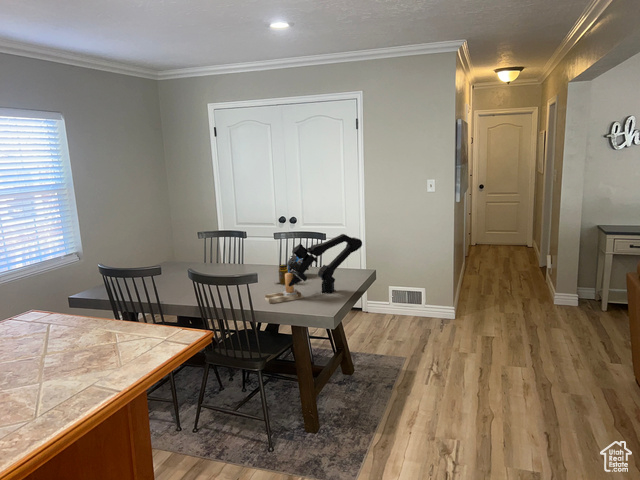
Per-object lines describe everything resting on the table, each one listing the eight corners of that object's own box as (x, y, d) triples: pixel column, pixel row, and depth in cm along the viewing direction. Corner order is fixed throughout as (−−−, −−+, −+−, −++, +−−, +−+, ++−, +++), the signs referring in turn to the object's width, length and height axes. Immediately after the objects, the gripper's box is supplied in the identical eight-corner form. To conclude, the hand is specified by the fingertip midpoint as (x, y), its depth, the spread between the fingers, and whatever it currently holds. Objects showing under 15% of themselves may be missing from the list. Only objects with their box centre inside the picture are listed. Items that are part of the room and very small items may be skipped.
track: (297, 294, 271) (297, 289, 270) (302, 298, 263) (302, 293, 262) (265, 299, 264) (264, 294, 264) (269, 303, 256) (268, 298, 255)
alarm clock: (296, 279, 304) (295, 256, 302) (287, 278, 307) (286, 256, 304) (304, 274, 316) (303, 252, 313) (296, 273, 318) (295, 252, 316)
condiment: (291, 283, 295) (290, 265, 293) (279, 286, 290) (278, 267, 288) (285, 281, 301) (284, 263, 299) (274, 283, 296) (273, 265, 294)
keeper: (293, 293, 268) (292, 272, 266) (296, 295, 263) (295, 274, 261) (283, 294, 266) (282, 273, 264) (286, 297, 261) (285, 275, 259)
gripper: (290, 252, 271) (272, 273, 269) (300, 258, 253) (282, 280, 252) (303, 263, 275) (286, 284, 273) (314, 270, 257) (296, 292, 256)
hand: (287, 285), depth 263 cm, fingers closed on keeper, 4 cm apart
